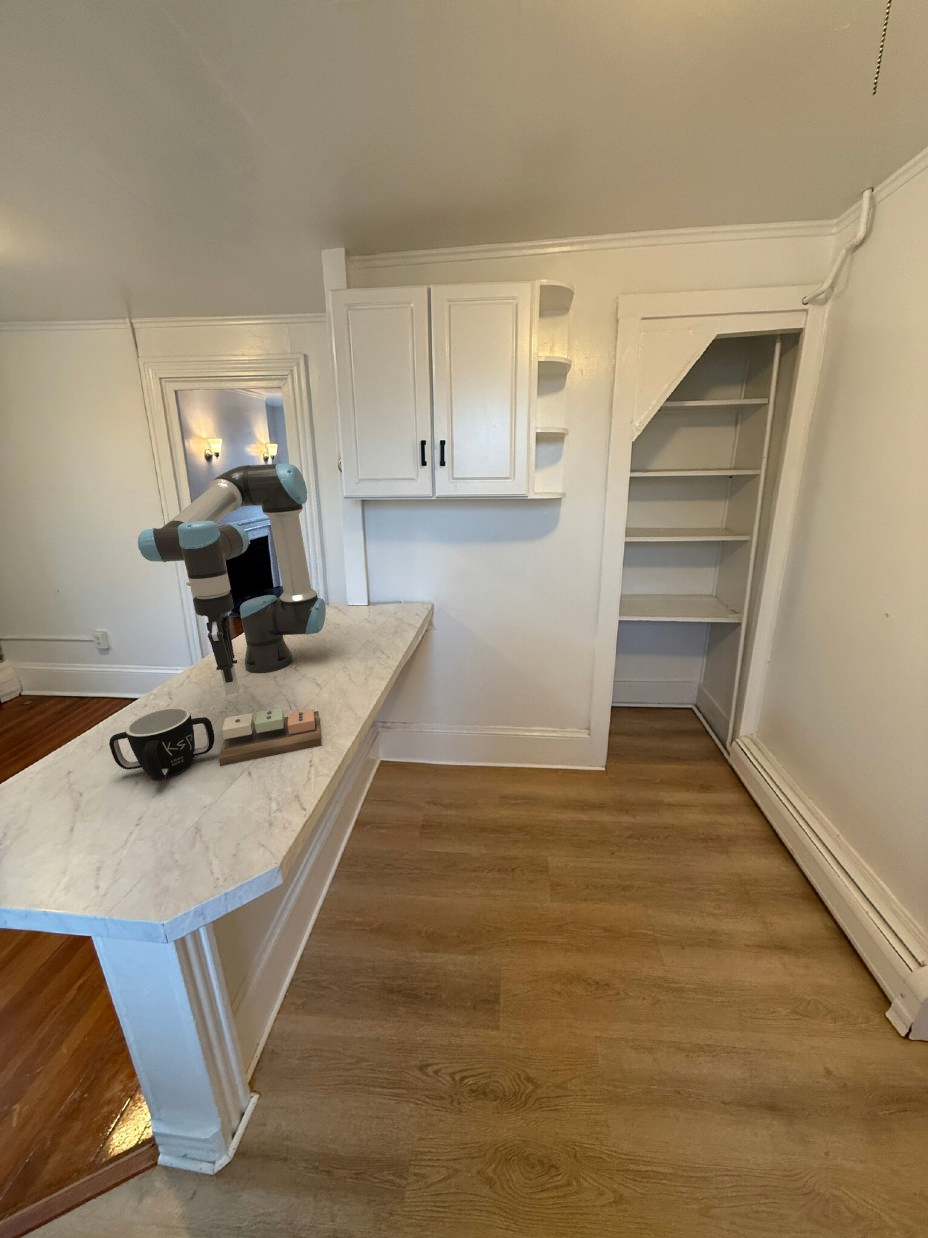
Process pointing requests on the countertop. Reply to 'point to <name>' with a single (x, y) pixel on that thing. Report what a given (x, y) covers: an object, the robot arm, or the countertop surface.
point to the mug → (162, 742)
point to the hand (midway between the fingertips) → (232, 692)
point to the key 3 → (301, 721)
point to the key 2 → (269, 720)
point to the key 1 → (238, 726)
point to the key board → (268, 743)
